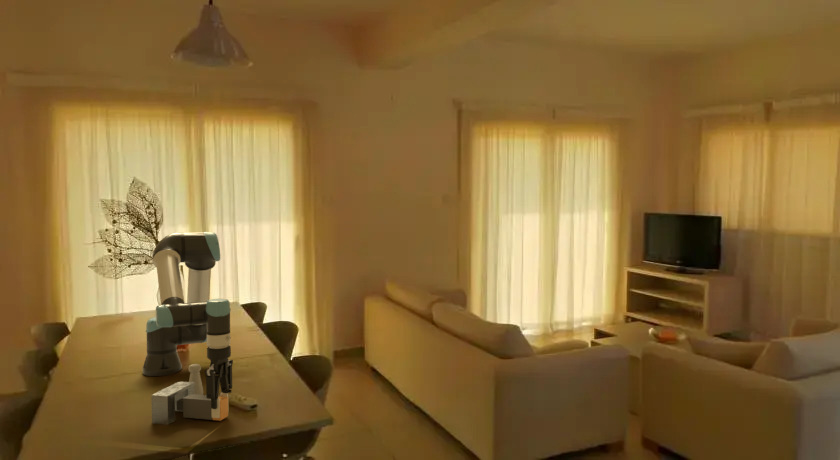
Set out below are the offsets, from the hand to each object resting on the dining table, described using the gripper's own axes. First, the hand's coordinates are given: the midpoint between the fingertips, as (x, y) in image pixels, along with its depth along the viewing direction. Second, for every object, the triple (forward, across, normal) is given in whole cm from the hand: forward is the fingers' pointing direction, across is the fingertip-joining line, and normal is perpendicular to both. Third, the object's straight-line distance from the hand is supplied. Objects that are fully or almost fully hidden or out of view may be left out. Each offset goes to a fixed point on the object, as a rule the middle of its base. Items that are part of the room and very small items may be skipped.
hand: (220, 414), depth 201 cm
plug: (+1, 0, +5) cm, 5 cm away
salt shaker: (+2, +17, +21) cm, 27 cm away
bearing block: (+2, 0, +18) cm, 18 cm away
